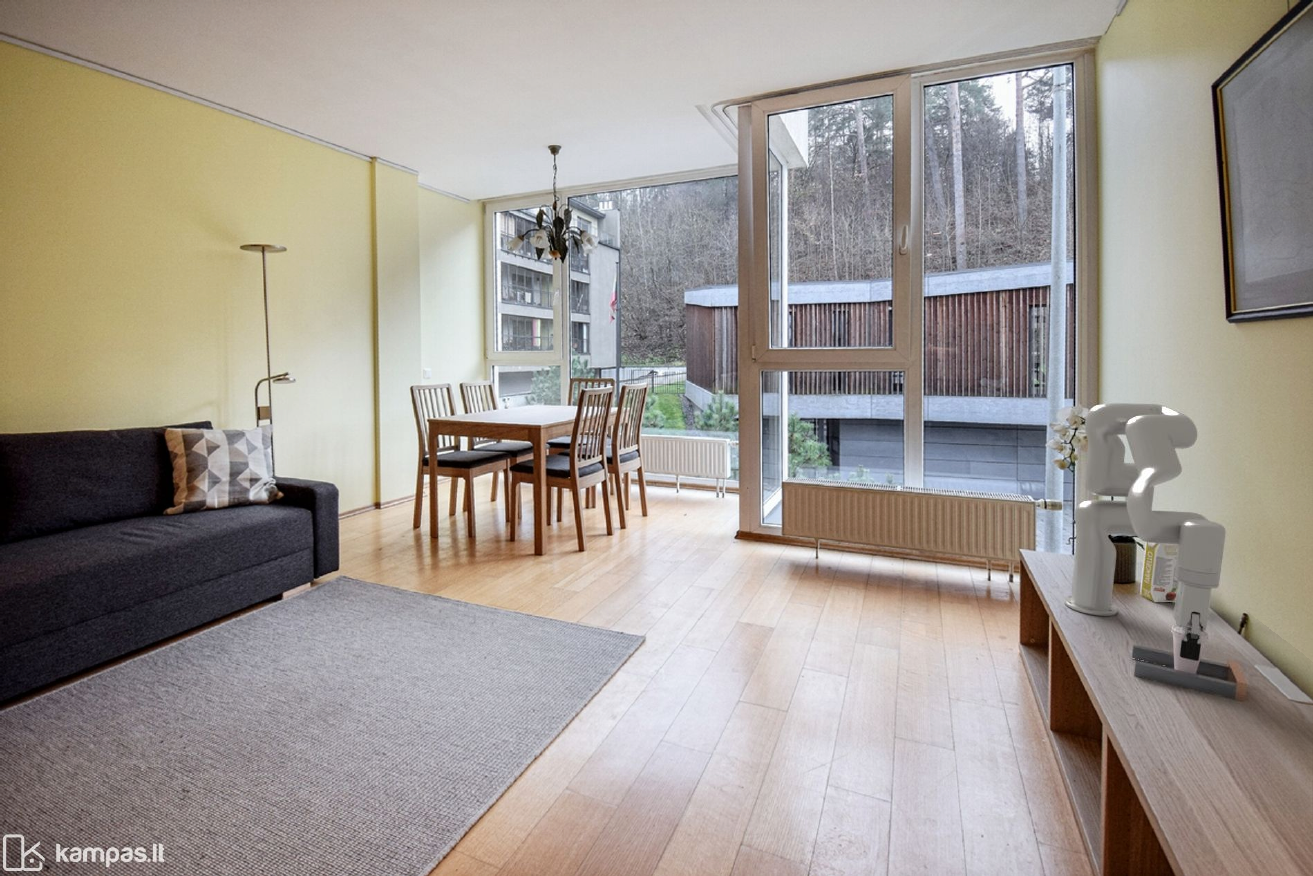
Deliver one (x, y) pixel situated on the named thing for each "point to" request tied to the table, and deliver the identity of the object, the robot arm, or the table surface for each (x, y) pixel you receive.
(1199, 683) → the grey frame
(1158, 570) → the juice carton
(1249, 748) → the table surface
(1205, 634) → the smoothie
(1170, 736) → the table surface
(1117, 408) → the robot arm
